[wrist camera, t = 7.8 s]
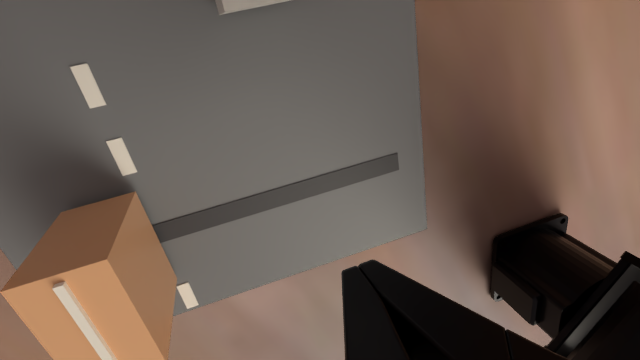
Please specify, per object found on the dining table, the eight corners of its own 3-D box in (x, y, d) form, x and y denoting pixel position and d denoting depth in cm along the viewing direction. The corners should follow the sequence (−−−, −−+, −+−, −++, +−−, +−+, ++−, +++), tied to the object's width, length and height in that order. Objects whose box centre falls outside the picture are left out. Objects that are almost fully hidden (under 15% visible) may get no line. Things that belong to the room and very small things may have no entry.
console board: (372, -196, 15) (402, -235, 12) (406, 209, 24) (427, 229, 21) (-208, -133, 11) (-310, -171, 9) (89, 314, 20) (74, 350, 18)
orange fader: (135, 191, 15) (105, 263, 11) (177, 278, 18) (166, 368, 13) (61, 211, 15) (-4, 297, 10) (113, 299, 17) (79, 400, 13)
